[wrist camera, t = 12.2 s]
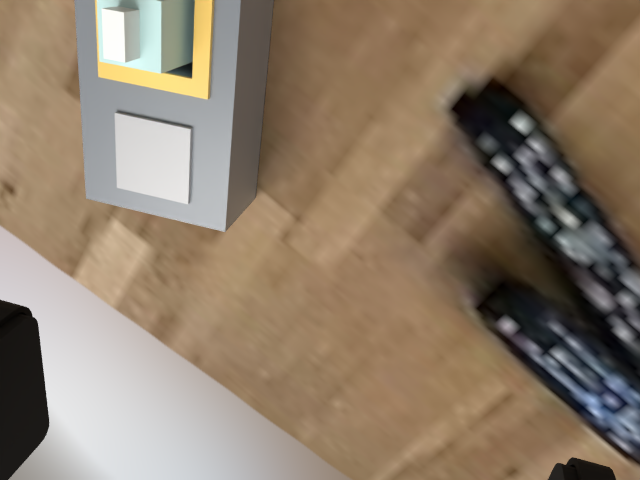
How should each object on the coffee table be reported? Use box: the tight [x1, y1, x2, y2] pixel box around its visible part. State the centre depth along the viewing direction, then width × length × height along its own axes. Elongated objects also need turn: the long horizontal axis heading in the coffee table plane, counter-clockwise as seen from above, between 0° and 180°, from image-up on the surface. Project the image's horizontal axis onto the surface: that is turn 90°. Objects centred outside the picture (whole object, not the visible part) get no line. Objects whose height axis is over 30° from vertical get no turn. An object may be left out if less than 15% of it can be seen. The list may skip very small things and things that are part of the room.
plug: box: [97, 0, 195, 74], centre depth 33 cm, size 4×4×10 cm
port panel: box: [75, 0, 274, 232], centre depth 37 cm, size 16×10×6 cm, turn 172°
